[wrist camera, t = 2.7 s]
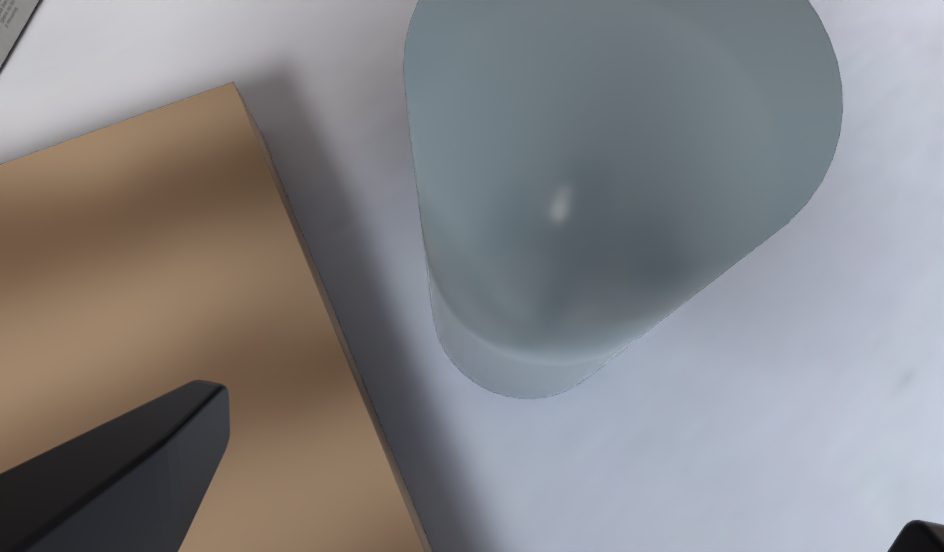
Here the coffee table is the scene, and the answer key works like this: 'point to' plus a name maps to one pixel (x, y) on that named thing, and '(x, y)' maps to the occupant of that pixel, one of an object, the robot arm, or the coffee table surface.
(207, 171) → the shelf
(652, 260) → the frosted glass cup
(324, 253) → the coffee table surface
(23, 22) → the coffee box
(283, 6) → the coffee table surface
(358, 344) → the coffee table surface
